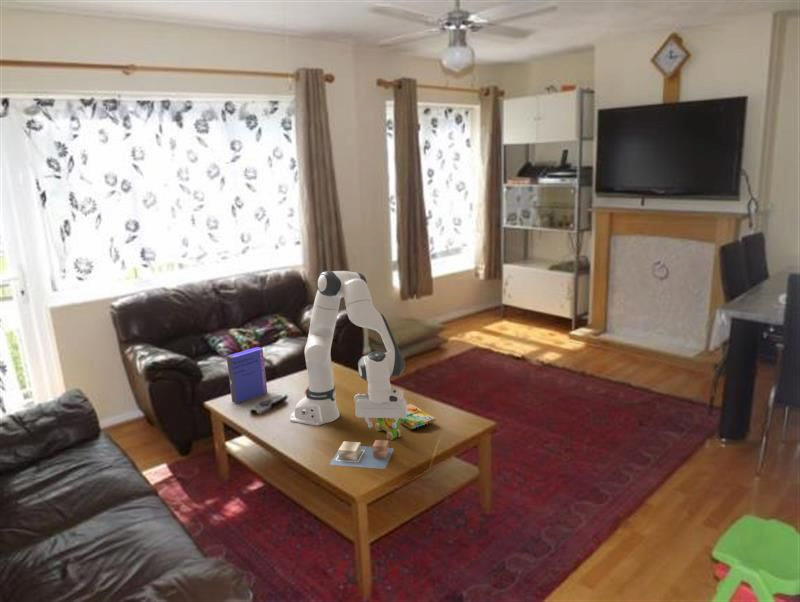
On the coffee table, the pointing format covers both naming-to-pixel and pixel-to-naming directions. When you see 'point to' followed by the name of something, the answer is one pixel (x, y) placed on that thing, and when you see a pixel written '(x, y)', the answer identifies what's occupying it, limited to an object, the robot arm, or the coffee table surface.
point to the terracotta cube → (380, 449)
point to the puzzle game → (416, 417)
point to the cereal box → (247, 374)
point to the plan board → (364, 459)
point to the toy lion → (388, 427)
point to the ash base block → (349, 450)
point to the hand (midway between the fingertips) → (382, 427)
